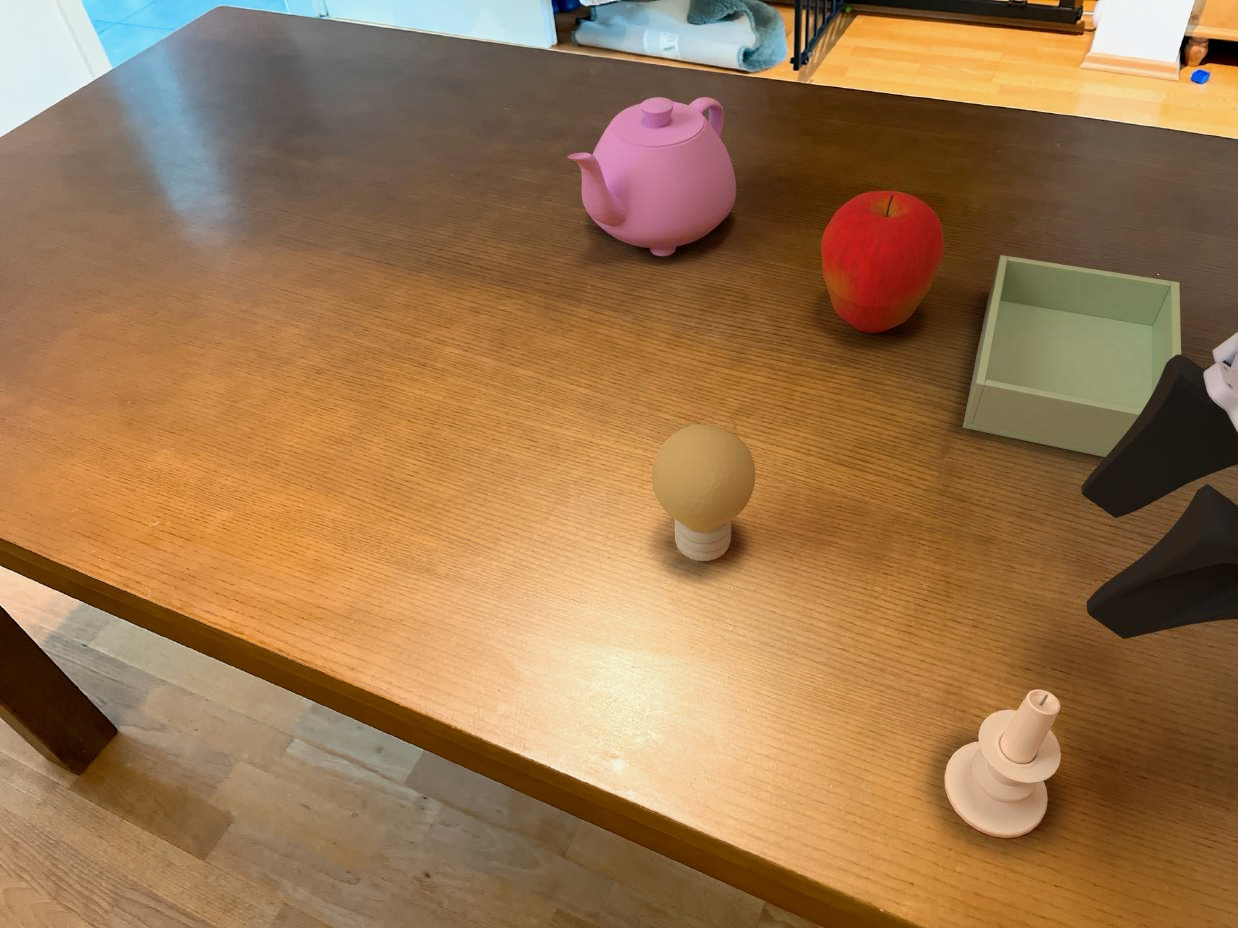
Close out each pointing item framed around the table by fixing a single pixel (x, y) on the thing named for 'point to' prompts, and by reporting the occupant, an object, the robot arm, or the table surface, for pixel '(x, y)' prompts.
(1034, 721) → the candle
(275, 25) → the table surface
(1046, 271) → the open box
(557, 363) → the table surface
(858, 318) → the apple
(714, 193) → the teapot
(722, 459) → the light bulb
